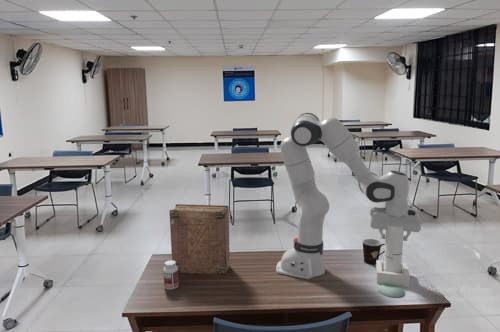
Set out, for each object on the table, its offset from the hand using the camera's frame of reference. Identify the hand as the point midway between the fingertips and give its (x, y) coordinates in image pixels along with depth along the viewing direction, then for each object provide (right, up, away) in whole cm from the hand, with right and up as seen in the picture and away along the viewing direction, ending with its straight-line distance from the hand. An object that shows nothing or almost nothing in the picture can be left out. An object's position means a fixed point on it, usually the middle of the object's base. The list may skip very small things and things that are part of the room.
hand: (394, 239), depth 171 cm
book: (-85, -17, +14) cm, 88 cm away
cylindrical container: (0, -18, +4) cm, 18 cm away
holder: (0, -18, +4) cm, 18 cm away
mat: (-4, -20, -7) cm, 22 cm away
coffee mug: (-3, -15, +20) cm, 25 cm away
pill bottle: (-96, -20, -1) cm, 98 cm away
